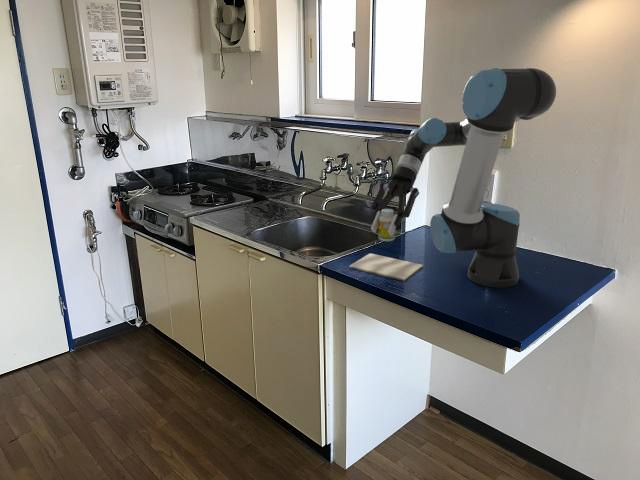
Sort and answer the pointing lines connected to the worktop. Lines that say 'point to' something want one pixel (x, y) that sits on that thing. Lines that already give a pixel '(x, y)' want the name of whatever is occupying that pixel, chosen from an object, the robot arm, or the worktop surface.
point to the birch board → (386, 266)
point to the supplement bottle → (385, 225)
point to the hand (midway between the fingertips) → (381, 232)
